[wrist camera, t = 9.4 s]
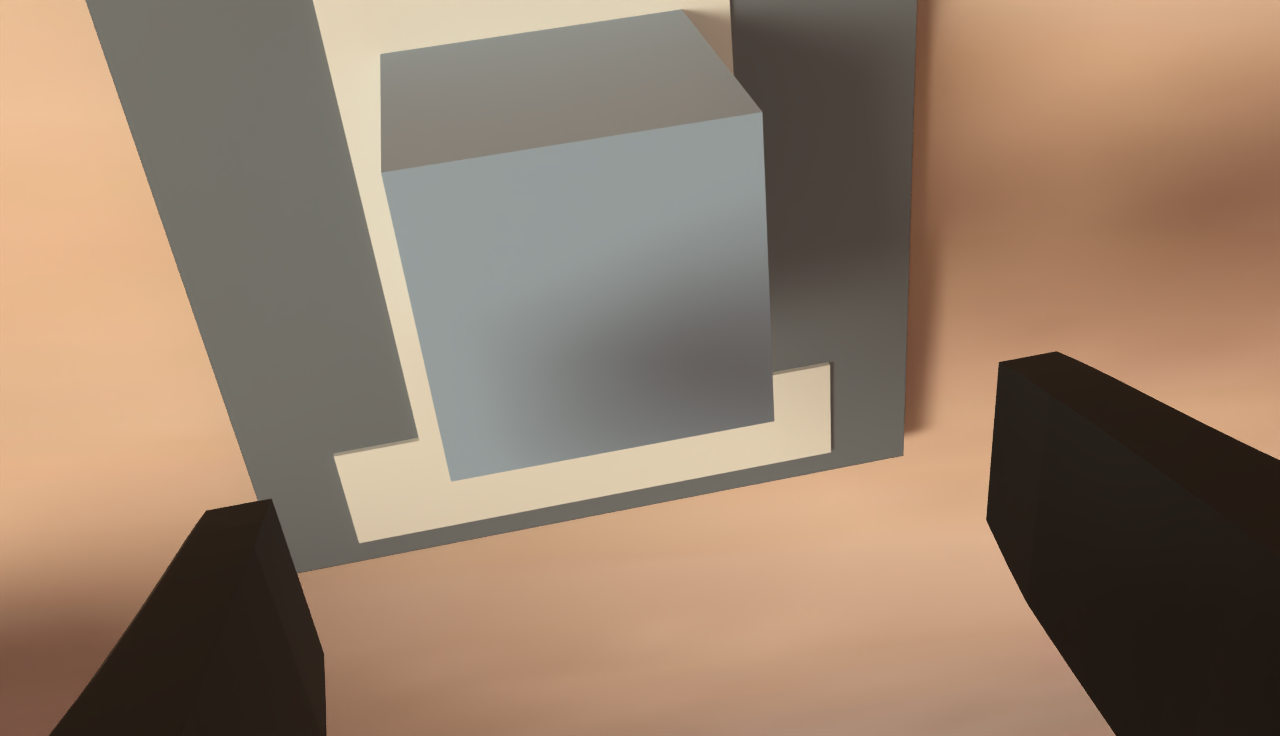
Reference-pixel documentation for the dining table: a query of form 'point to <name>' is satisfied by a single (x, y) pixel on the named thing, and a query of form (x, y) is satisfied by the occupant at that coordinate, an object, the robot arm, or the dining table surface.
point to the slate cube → (580, 239)
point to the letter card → (375, 283)
